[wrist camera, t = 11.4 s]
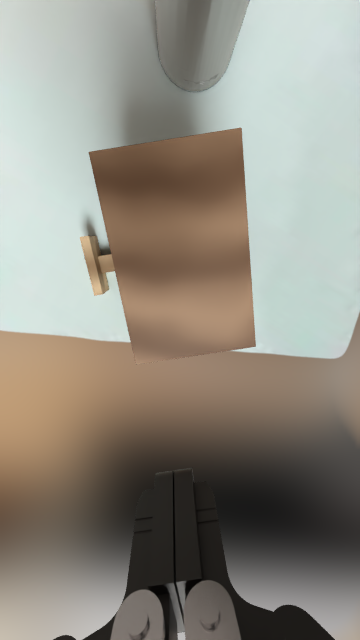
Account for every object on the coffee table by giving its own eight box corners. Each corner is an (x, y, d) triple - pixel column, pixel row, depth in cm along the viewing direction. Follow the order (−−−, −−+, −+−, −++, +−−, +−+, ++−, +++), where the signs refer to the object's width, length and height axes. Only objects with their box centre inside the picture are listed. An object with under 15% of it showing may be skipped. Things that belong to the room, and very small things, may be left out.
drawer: (85, 223, 37) (75, 221, 33) (215, 203, 37) (220, 198, 33) (104, 302, 41) (97, 309, 37) (223, 284, 40) (229, 288, 37)
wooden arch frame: (129, 197, 36) (88, 152, 18) (205, 185, 36) (241, 127, 18) (150, 310, 41) (135, 364, 23) (217, 300, 41) (255, 346, 23)
